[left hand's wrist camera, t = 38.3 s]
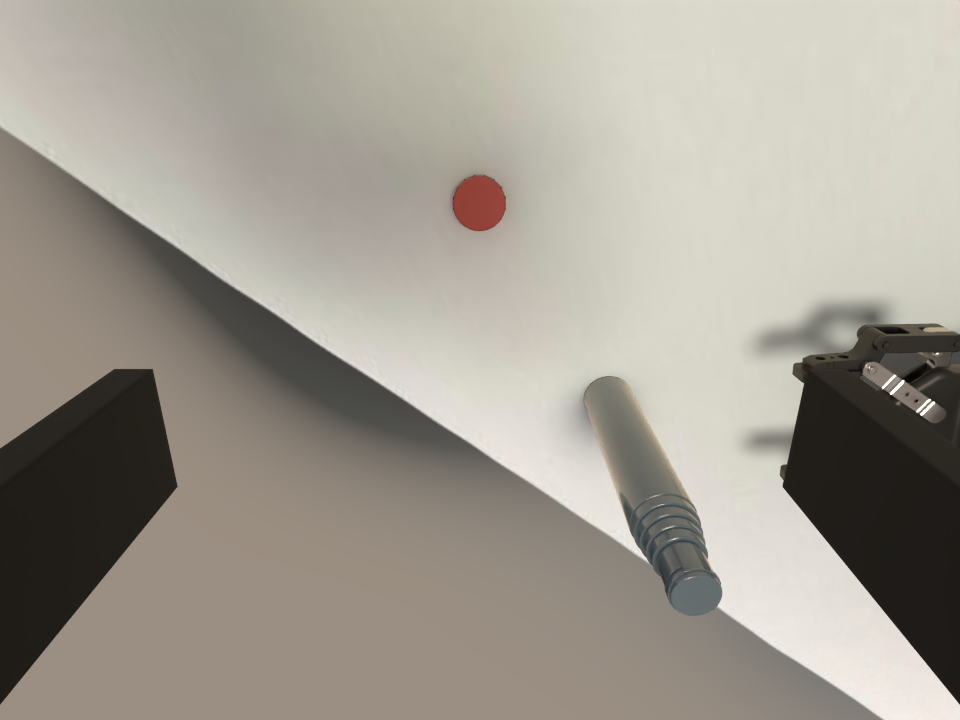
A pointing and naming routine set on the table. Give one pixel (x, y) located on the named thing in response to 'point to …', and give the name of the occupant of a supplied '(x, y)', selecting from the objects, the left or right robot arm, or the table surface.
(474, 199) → the cap
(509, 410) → the table surface
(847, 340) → the table surface
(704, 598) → the bottle
